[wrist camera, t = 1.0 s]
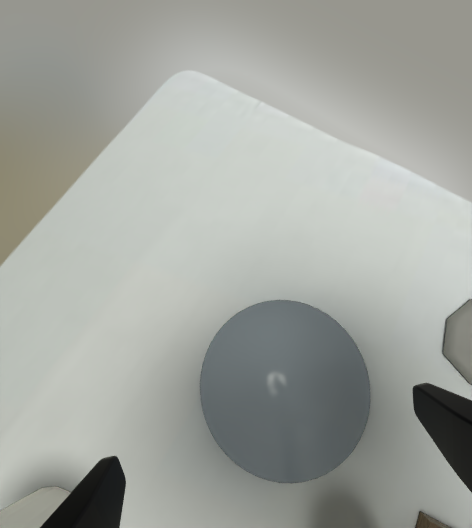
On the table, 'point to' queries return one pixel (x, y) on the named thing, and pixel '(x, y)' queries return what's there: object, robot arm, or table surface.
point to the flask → (460, 340)
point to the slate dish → (285, 391)
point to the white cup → (33, 508)
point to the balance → (429, 522)
